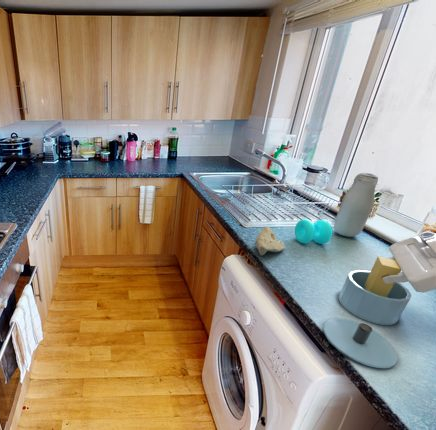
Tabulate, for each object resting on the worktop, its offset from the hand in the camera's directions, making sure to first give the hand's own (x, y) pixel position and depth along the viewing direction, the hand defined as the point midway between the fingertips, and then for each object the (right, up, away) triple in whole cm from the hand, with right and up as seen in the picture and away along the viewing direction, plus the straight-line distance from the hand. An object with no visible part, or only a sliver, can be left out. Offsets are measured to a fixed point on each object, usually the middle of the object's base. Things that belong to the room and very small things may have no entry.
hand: (380, 274), depth 80 cm
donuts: (+7, +5, +40) cm, 41 cm away
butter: (0, -5, +2) cm, 6 cm away
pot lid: (-13, -16, -8) cm, 22 cm away
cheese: (-16, +1, +31) cm, 34 cm away
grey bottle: (+27, +8, +46) cm, 54 cm away
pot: (0, -11, +5) cm, 12 cm away
